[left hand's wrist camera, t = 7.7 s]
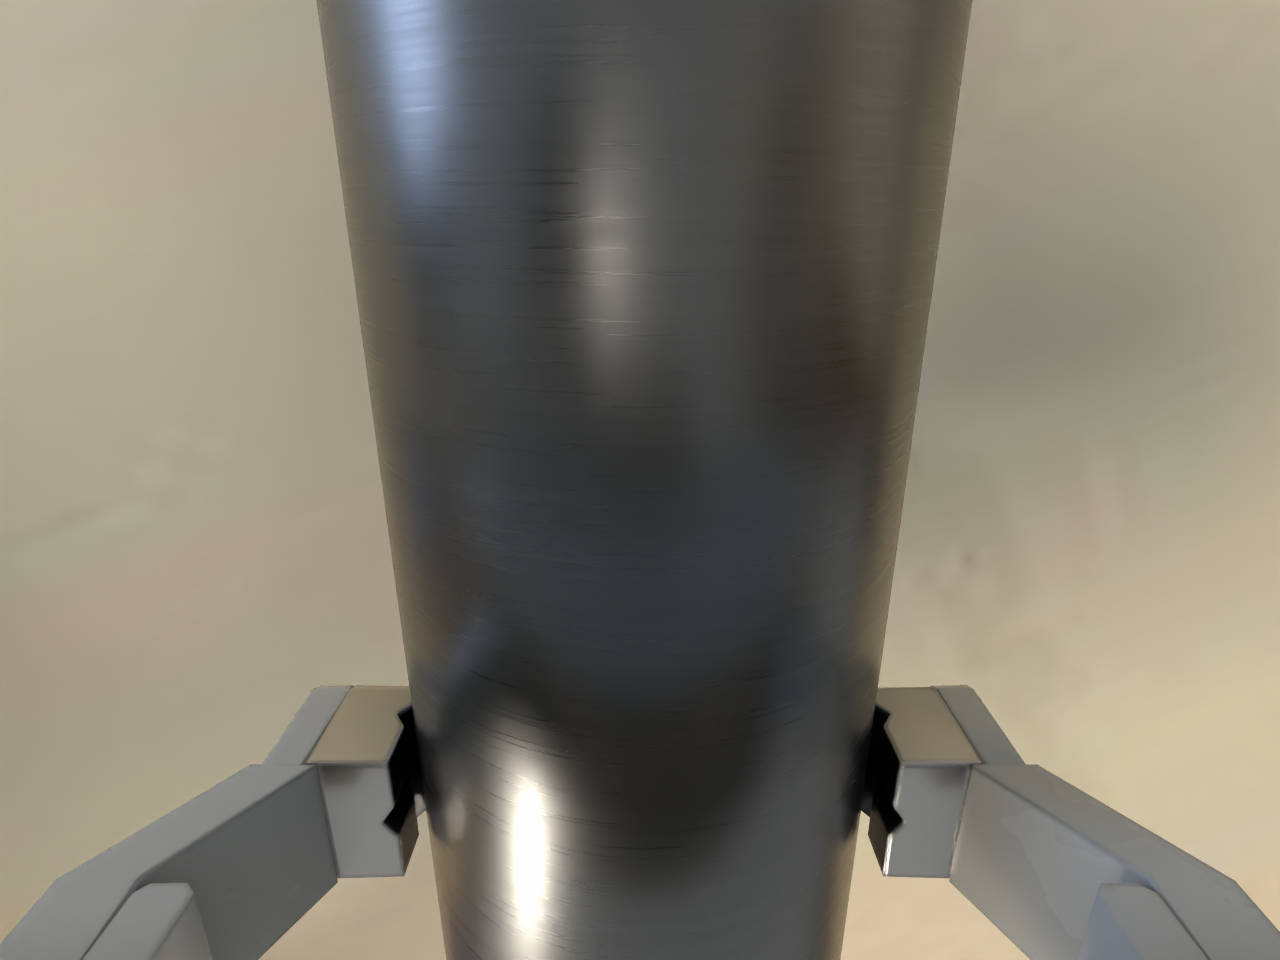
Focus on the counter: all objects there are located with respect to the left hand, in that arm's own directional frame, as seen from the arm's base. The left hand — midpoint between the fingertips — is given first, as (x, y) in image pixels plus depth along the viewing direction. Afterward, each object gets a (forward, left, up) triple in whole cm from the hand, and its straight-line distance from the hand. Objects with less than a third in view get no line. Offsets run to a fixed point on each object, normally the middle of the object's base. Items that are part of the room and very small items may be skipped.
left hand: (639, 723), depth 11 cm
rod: (+10, 0, -3) cm, 10 cm away
